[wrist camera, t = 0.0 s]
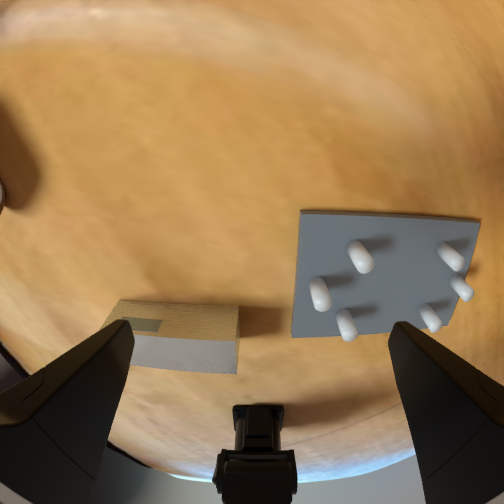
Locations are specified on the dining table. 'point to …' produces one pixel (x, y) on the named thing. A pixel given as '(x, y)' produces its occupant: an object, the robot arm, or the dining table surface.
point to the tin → (2, 196)
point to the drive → (182, 335)
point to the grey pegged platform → (378, 272)
